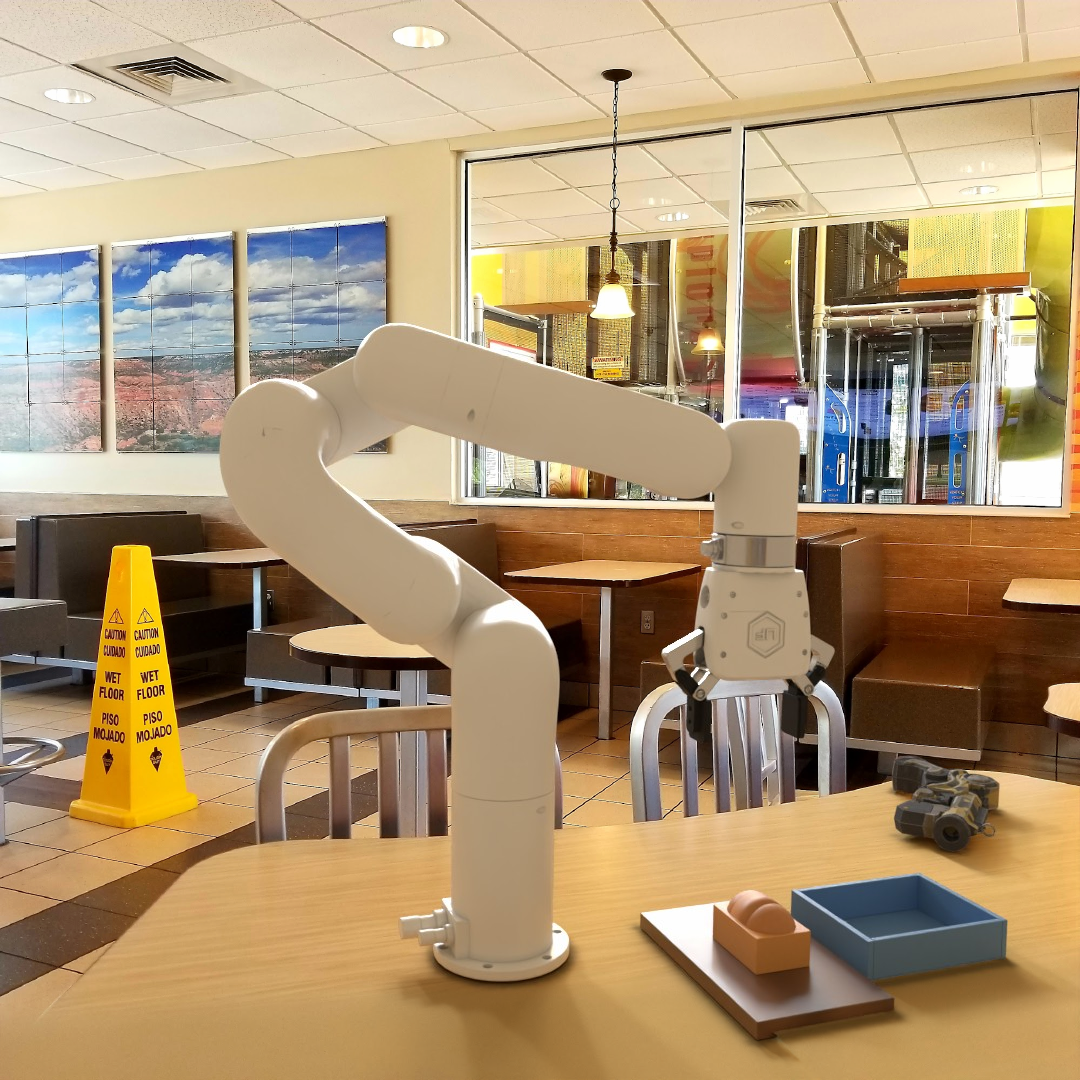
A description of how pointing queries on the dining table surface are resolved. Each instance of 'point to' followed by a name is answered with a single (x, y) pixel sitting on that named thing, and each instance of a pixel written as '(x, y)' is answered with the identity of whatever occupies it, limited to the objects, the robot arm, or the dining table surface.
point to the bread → (761, 933)
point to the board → (764, 977)
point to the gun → (943, 802)
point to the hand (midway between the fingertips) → (746, 737)
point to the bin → (899, 925)
